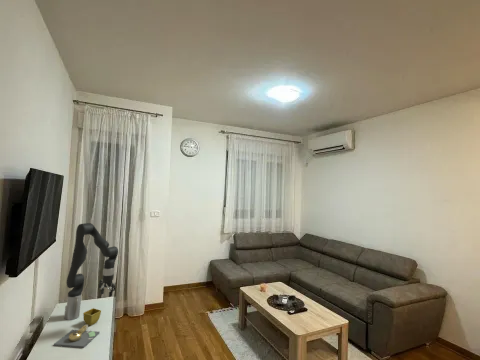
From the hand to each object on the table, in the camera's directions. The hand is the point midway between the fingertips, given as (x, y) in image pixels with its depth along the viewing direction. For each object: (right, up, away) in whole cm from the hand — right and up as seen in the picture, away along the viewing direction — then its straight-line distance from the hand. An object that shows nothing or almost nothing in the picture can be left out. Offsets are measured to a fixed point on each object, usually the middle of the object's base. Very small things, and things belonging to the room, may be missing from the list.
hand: (106, 295), depth 184 cm
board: (-9, -22, -18) cm, 29 cm away
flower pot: (-12, -23, +2) cm, 26 cm away
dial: (-10, -20, -16) cm, 28 cm away
